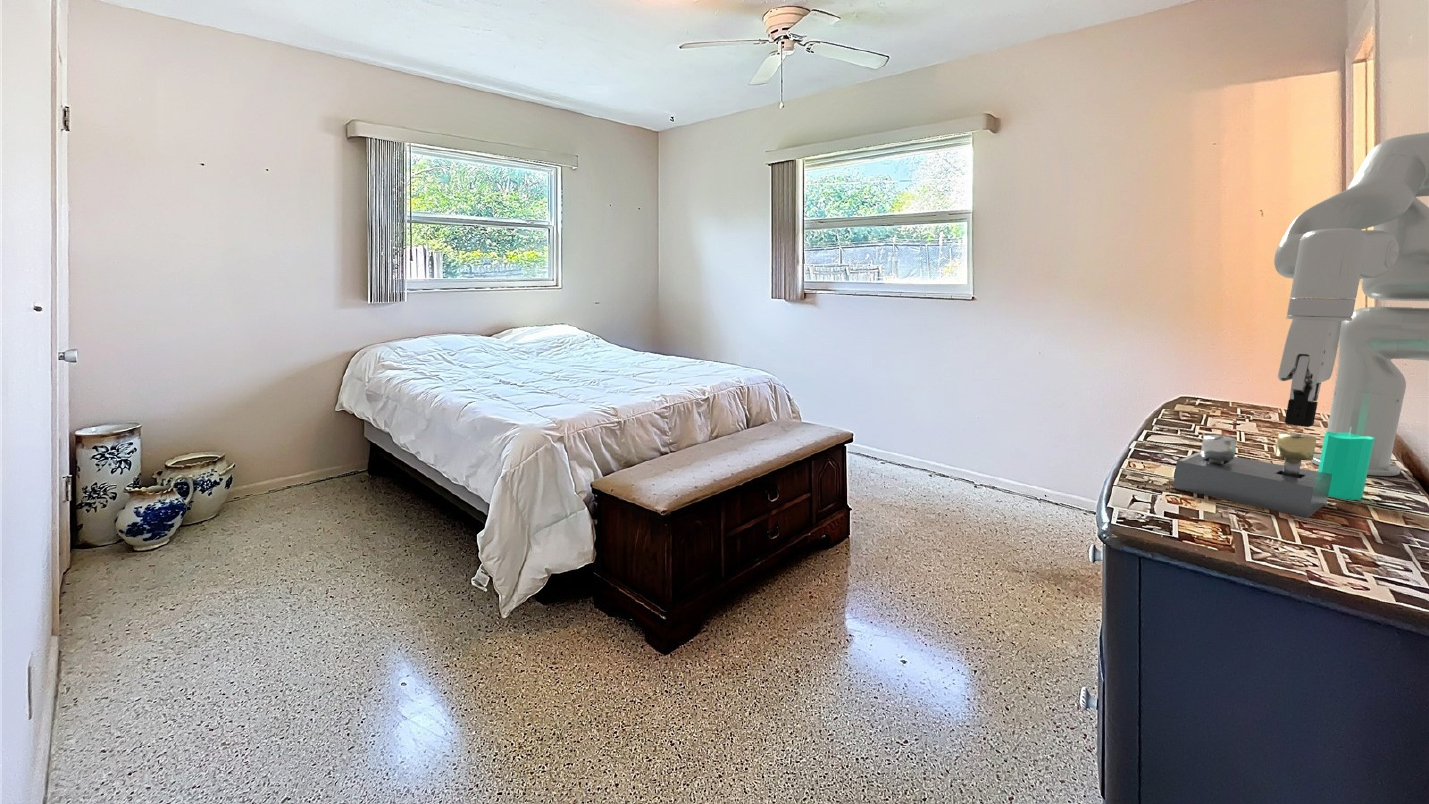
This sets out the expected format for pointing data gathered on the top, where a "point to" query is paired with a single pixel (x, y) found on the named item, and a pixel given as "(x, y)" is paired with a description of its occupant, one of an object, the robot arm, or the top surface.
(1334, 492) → the candle
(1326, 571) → the top surface
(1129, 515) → the top surface
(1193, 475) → the mount
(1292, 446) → the knob
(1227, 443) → the knob
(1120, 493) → the top surface
